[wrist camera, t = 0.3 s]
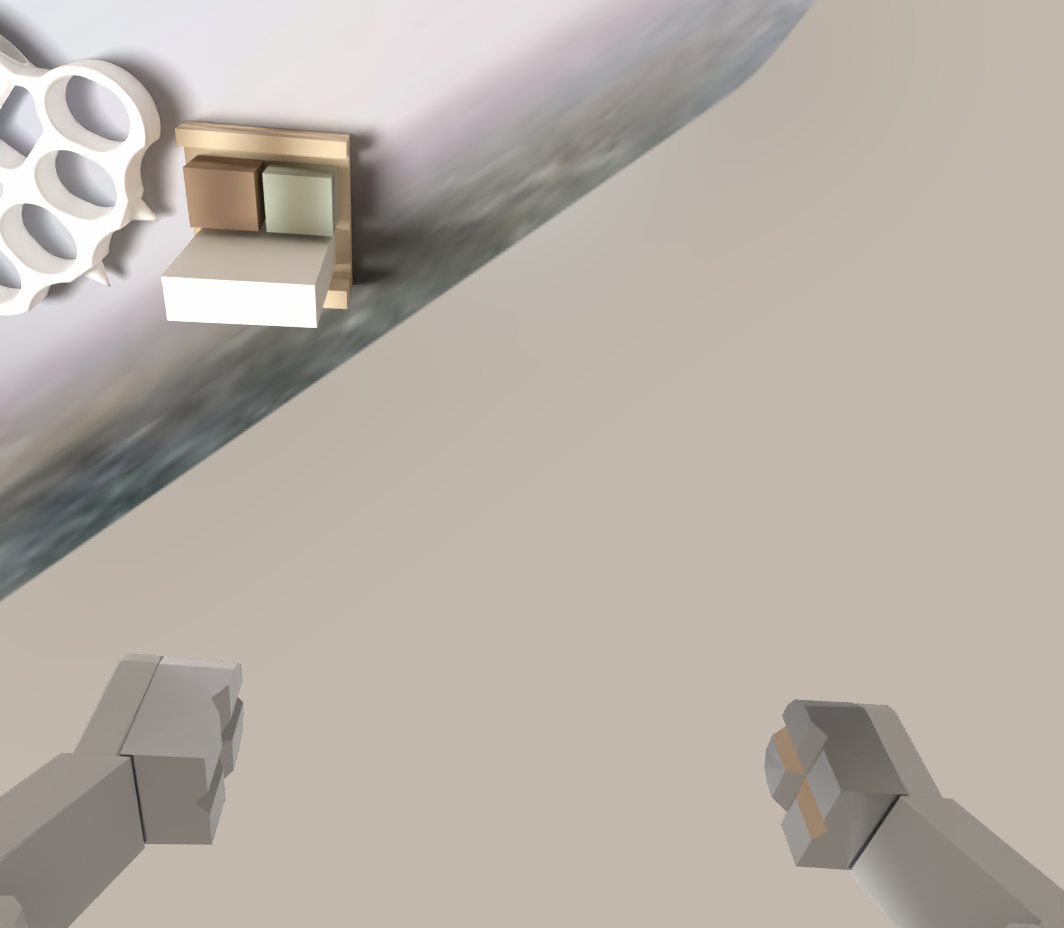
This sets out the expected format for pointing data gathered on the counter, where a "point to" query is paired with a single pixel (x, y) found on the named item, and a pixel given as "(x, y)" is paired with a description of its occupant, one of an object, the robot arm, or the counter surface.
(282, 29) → the counter surface
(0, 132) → the counter surface
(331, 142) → the oak rack
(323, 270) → the cream board
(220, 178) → the offcuts
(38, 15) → the counter surface
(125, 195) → the knuckle duster
